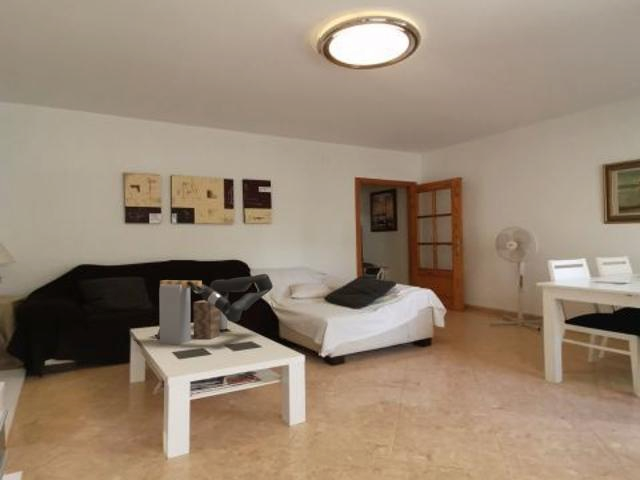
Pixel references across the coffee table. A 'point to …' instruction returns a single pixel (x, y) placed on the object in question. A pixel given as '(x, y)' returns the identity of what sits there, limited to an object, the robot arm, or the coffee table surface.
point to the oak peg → (181, 283)
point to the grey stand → (174, 314)
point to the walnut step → (206, 320)
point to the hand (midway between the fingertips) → (190, 282)
